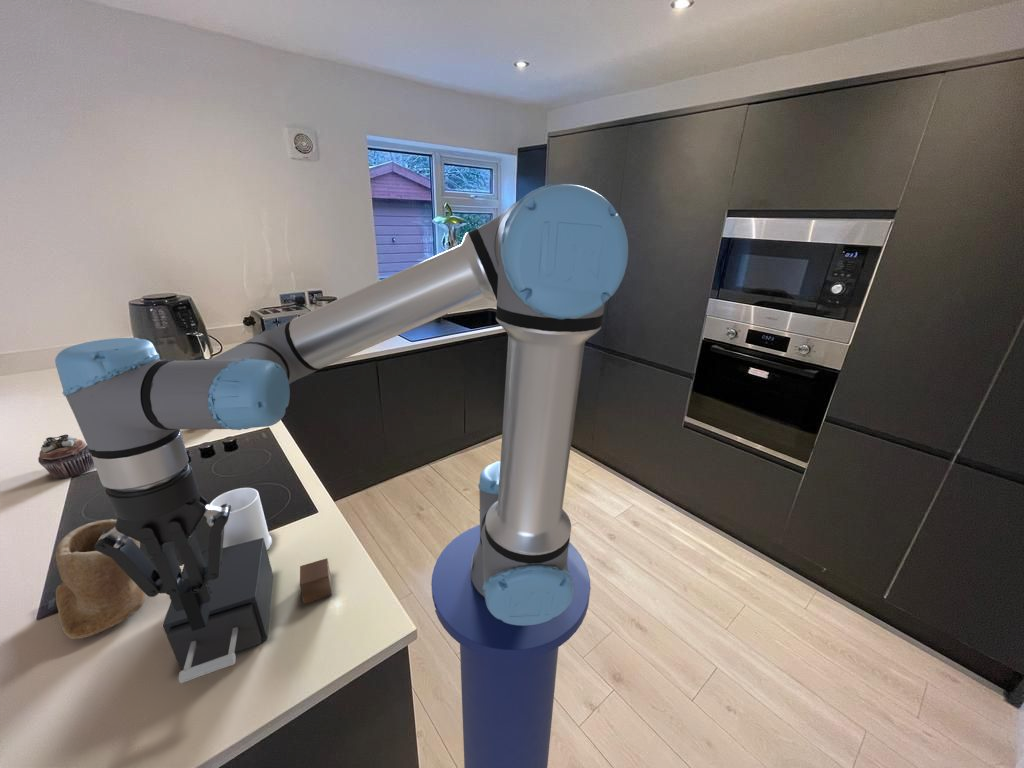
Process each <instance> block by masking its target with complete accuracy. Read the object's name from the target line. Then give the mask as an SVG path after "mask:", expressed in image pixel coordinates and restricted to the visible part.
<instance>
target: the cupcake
mask: <svg viewBox="0 0 1024 768" xmlns="http://www.w3.org/2000/svg"><path fill="white" fill-rule="evenodd" d="M37 460H38V464H39V465H41V466H42V467H43V468H44V469H45V470H46V471H47V472H48V473H49V474H50V476H51V477H52V478H53V479H56V480H62V479H68V478H72V477H77V476H80V475H82V474H84V473H87V472H89V471H91V470H92V469H93V468H94V467H95V464H94V462H93V459H92V456H91V454H90V452H89V449H88V446H87V443H86V441H85V440H82V439H79V438H77V437H75V436H70V435H69V434H62V435H59V436H56V437H55V436H54V437H52V436H49V437H46V438H45V440H44V441H43V444H42V445H41V446H40V450H39V455H38V458H37Z"/></svg>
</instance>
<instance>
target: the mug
mask: <svg viewBox="0 0 1024 768" xmlns="http://www.w3.org/2000/svg"><path fill="white" fill-rule="evenodd" d="M223 504H229V505H230V506H231V510H230V514H229V518H228V521H227V523H226V524H225V526H224V540H223V548H225V547H229V546H233V545H237V544H241V543H245V542H249V541H252V540H256V539H260V538H264V542H265V545H266V549H267V551H268V550H270V549H271V548H270V547H271V546H272V543H273V539H272V537H271V535H270V533H269V529H268V525H267V521H266V517H265V514H264V508H263V505H262V501H261V498H260V493H259V491H258V490H257V489H255V488H253V487H240V488H235V489H232V490H229V491H226V492H223V493H221V494H219V495H218V496H216V497H215V498H214V499H212V500H211V502H209V505H212V506H217V507H221V506H222V505H223Z"/></svg>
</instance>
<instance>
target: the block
mask: <svg viewBox="0 0 1024 768" xmlns="http://www.w3.org/2000/svg"><path fill="white" fill-rule="evenodd" d="M299 587H300V593H301V597H302V601H303V604H304V605H306V604H309V603H313V602H315V601H318V600H321V599H325V598H326V597H327V598H328V597H330V596H332V595H333V587H332V575H331V569H330V564H329V559H328V558H327V557H326V558H322V559H319V560H316V561H313V562H309V563H306V564H303V565H300V566H299Z"/></svg>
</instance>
